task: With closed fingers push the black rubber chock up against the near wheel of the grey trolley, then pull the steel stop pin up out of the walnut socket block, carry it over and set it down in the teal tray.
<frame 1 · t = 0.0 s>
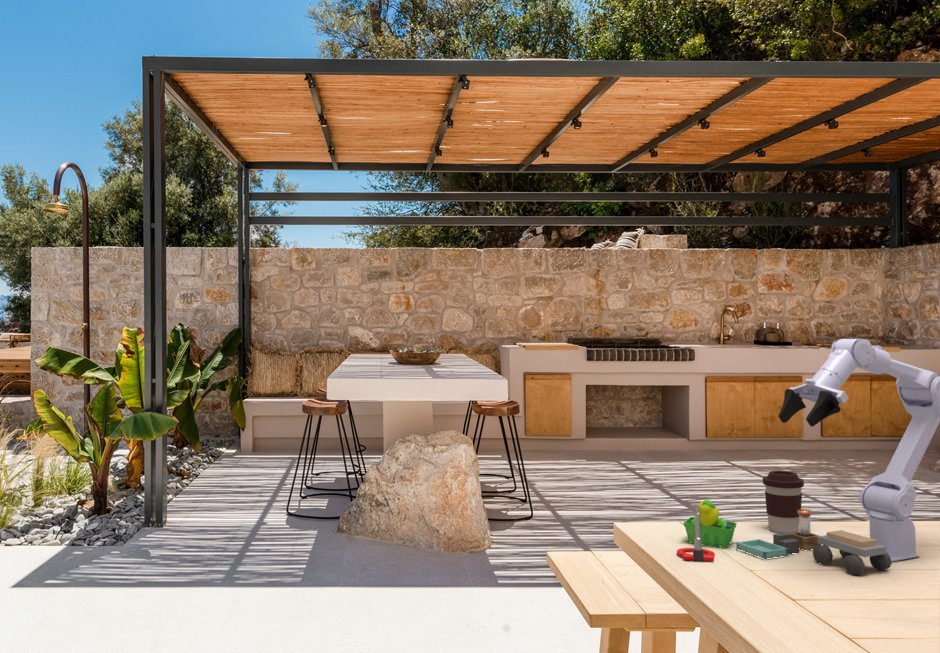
hand: (795, 421, 163), 32 cm above the table, tool tilted 50°, fingers open, 7 cm apart
chock: (786, 552, 177), on the table
pin socket: (805, 547, 181), on the table
stop pin: (804, 528, 181), in the pin socket
tow hook: (695, 557, 175), on the table
coffee cup: (783, 531, 197), on the table
tray: (761, 553, 176), on the table
trolley: (851, 566, 166), on the table
fruit basket: (709, 544, 185), on the table
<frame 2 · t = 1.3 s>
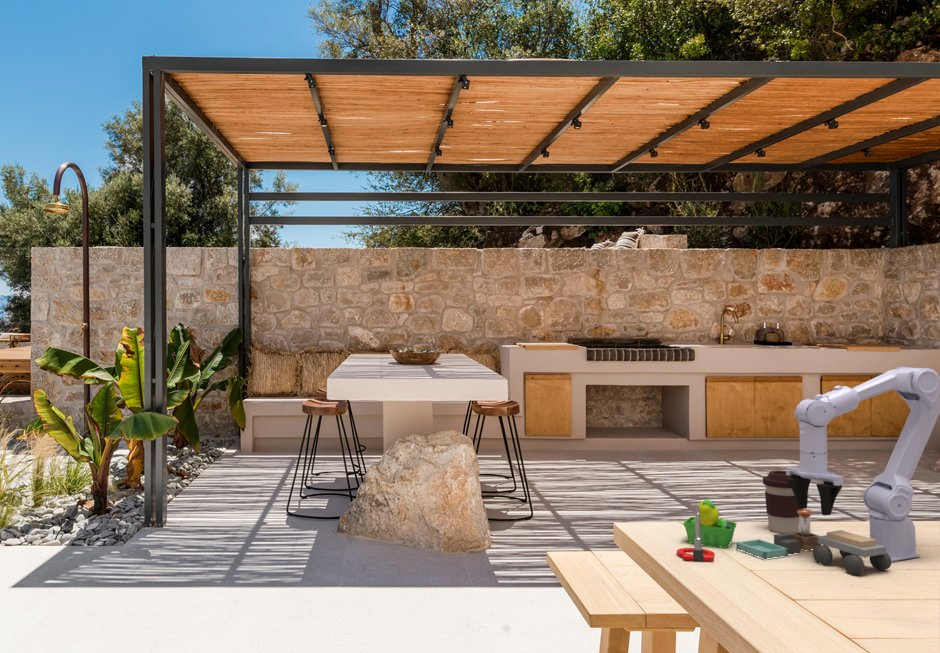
hand: (814, 511, 173), 10 cm above the table, tool pointing down, fingers open, 6 cm apart
nothing on the table moved.
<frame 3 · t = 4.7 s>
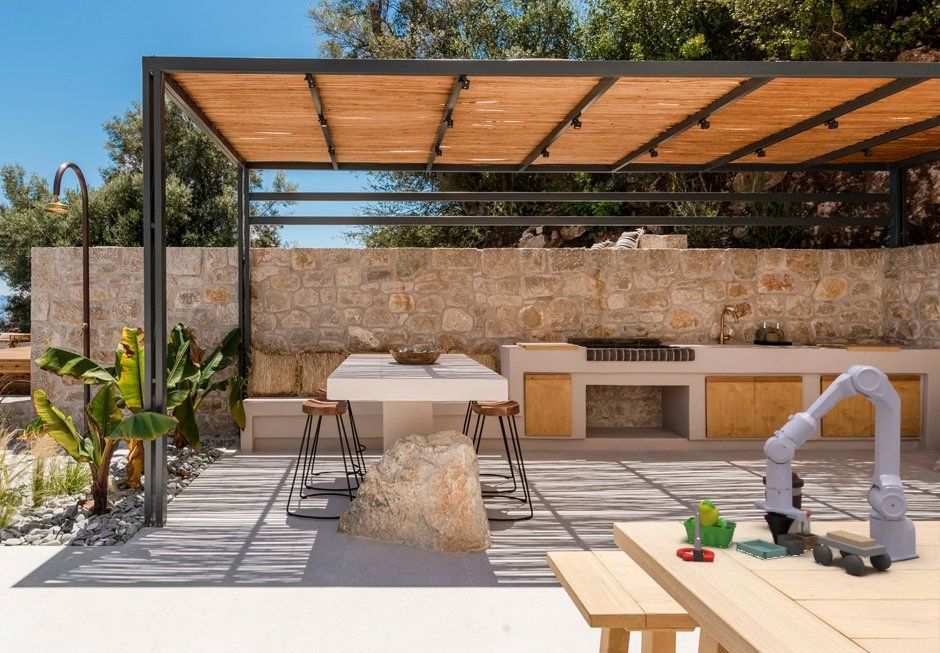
hand: (779, 545, 179), 1 cm above the table, tool pointing down, fingers closed
chock: (790, 553, 176), on the table, touching gripper
everything else where it was.
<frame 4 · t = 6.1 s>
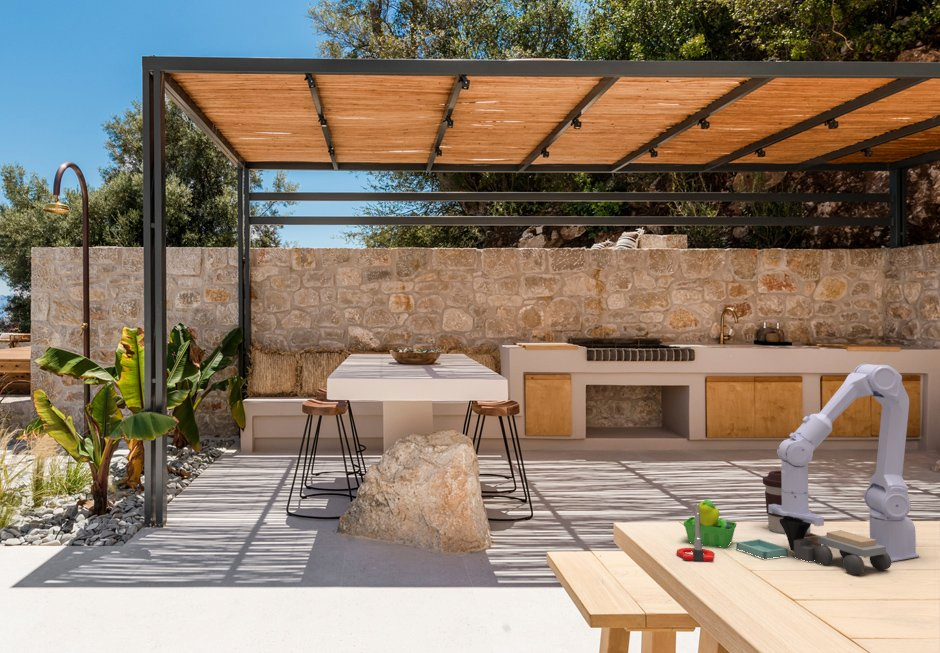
hand: (795, 550, 175), 1 cm above the table, tool pointing down, fingers closed
chock: (807, 558, 172), on the table, touching gripper
everything else where it was.
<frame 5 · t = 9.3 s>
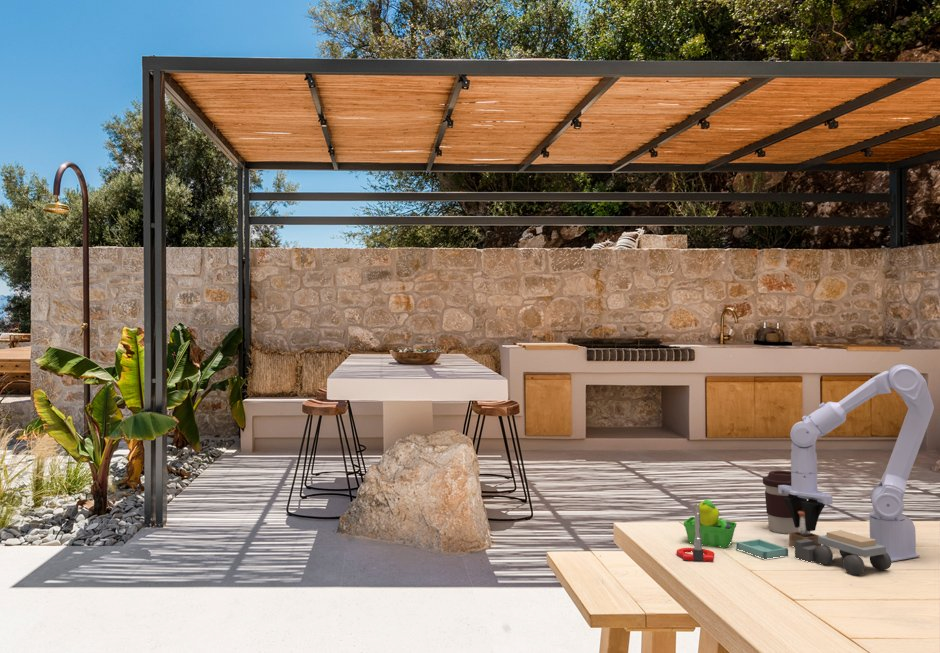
hand: (804, 528, 181), 4 cm above the table, tool pointing down, fingers closed on stop pin, 3 cm apart
chock: (808, 559, 171), on the table
stop pin: (804, 528, 181), in the pin socket, touching gripper
everything else where it was.
when the fingers open (6 cm above the table, at t = 12.1 s): stop pin stays where it is, resting on tray.
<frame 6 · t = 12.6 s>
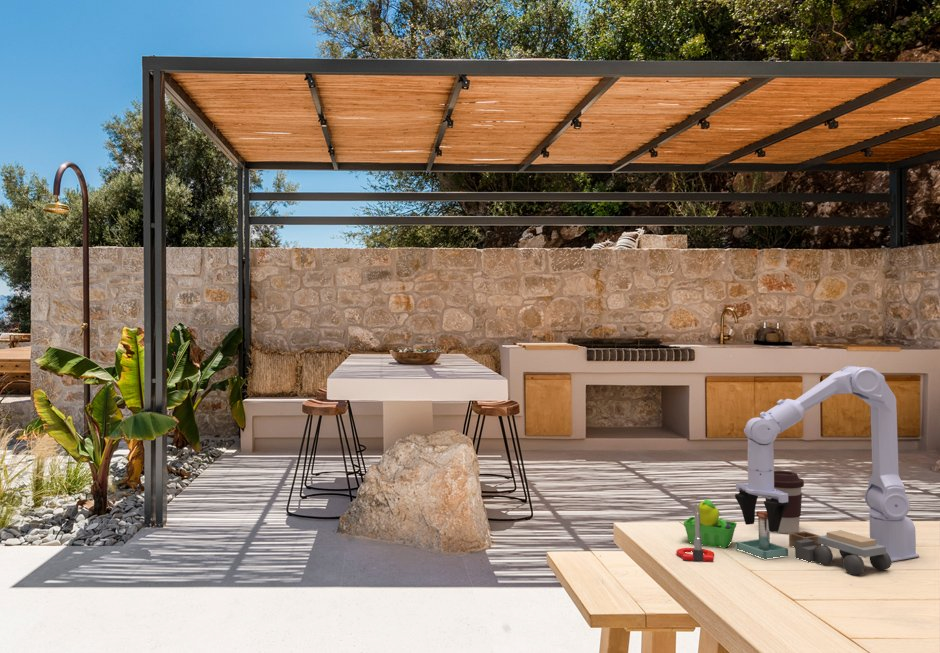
hand: (761, 527, 177), 6 cm above the table, tool pointing down, fingers open, 7 cm apart
stop pin: (764, 531, 177), in the tray
everything else where it was.
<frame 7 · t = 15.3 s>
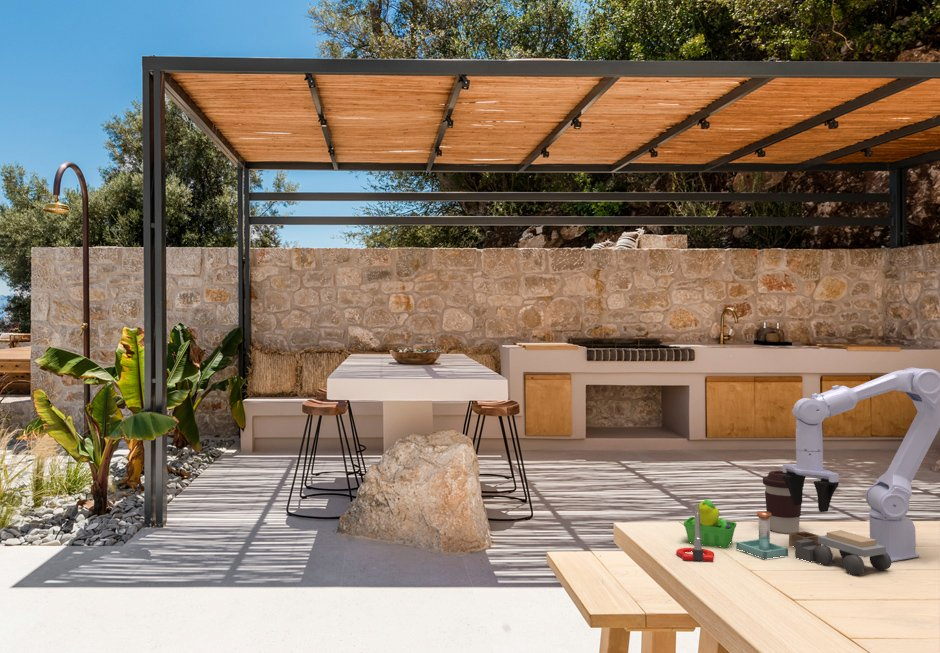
hand: (810, 508, 177), 10 cm above the table, tool pointing down, fingers open, 7 cm apart
nothing on the table moved.
at the end: chock 1.3 cm from the target spot, on the table; stop pin inside the target area on the tray (1.0 cm from its centre), point 4.9 cm above the tray's base; the gripper is holding nothing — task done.
